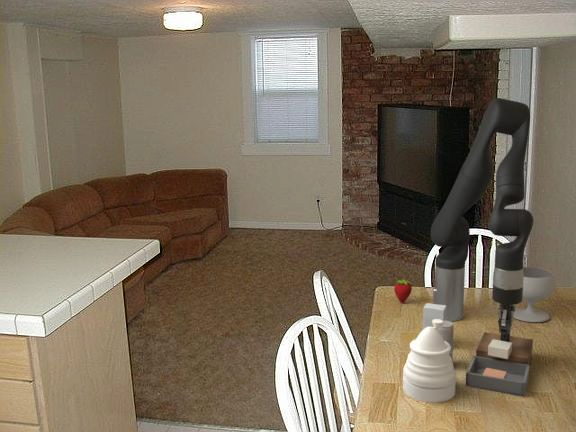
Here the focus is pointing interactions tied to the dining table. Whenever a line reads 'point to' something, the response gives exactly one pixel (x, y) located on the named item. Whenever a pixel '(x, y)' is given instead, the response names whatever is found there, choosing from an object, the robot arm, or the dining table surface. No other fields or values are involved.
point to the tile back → (500, 349)
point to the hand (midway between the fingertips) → (504, 344)
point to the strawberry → (402, 290)
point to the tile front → (495, 373)
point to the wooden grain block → (519, 348)
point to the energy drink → (447, 334)
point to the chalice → (535, 293)
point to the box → (510, 385)
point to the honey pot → (429, 367)
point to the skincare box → (433, 314)
